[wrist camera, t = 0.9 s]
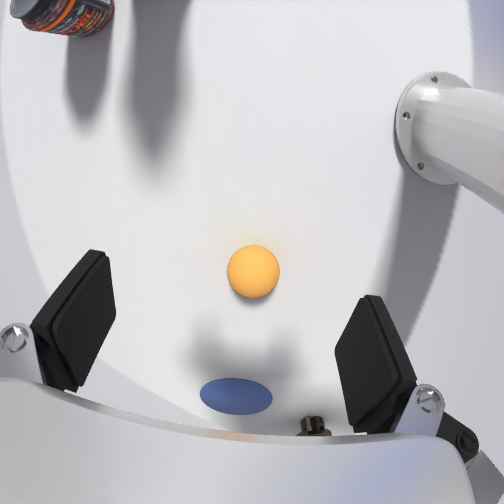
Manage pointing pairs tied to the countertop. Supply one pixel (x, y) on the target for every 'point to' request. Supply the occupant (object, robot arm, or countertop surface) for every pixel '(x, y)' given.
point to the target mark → (235, 396)
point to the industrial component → (313, 427)
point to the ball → (253, 271)
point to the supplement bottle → (63, 15)
